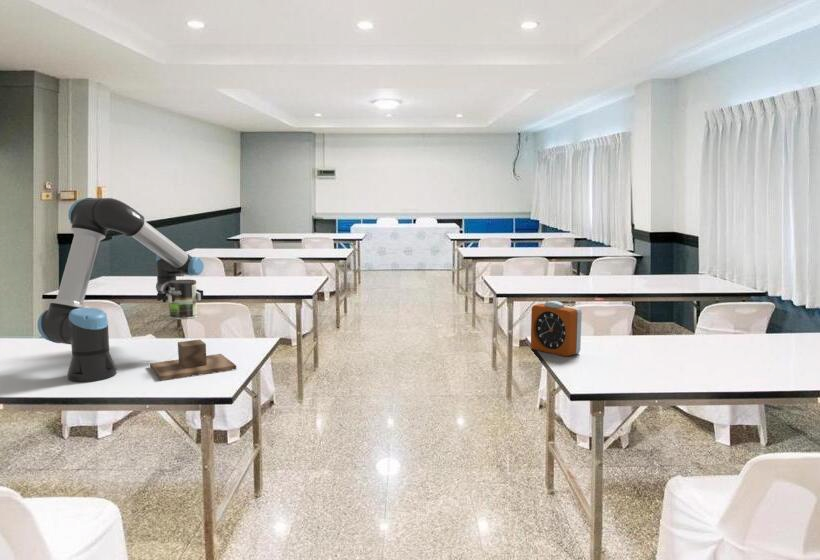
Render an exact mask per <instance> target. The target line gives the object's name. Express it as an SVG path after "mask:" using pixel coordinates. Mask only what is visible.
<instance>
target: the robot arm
mask: <svg viewBox="0 0 820 560" xmlns="http://www.w3.org/2000/svg"><path fill="white" fill-rule="evenodd" d="M68 220H69V224H71V228H70V230H71V232H72V233H73V238H72V242H71V245H70V249H69V252H68V255H67V256H68V257H67V259H66V260H67V261H66V263H65V267H64V271H63V273H62V274H63V275H62V277H61V280H60V281H61V282H60V285H59V288H58V291H57V292H58V293H57V295H56V298H55V299H53V300H52V301H50V303H49V307H48V309H46V310H45V311H44V312H42V313H41V314H40V316H39V317H38V320H37V330H38V333H39V334H40V335H41V338H43V339H45V340H47V341H49V342H52V343H55V344H63V345H71V355H72V356H71V360H70V362H69V367H68V370H67V379H68V380H69V381H71V382H78V383H79V382H80V383H84V382H86V383H87V382H94V381H95V382H96V381H102V380H106V379H109V378H111V377H114V376H115V375H117V365H116V364H115V361H114V359H113V357H112V355H111V351H110V340H109V337H110V336H109V321H108V317H107V313H106V312H105V310H103V309H99V308H96V307H86V306H85V305H84V302H85V299H86V294H87V290H88V286H89V282H90V278H91V275H92V271H93V268H94V264H95V260H96V256H97V253H98V248H99V246H100V243H101V241H103V240H104V239H106V236H107V233H108V231H114V232H118V233H120V234H123V235H124V236H125V237H127V238H131V237H132V239H134V240H136V241H137V242H139V243H140V244H141V245H143V246H144V247H146V248H147V249H148V250H149V251H151V252H152V253H154V254H155V255H156V259H155V263H156V276H157V277H156V284H155V289H156V292H157V293H156V299H157V301H158V302H159V301H161V300H162V303H168V304H169V303H172V296H171V295H169V287H168V282H169V281H172V280H177V275H182V276H183V275H184V276H191V277H192V276H200V275H201V274H202V273H203V271H204V268H205V264H204V261H203V259H202V258H201V257H197V256H192V255H190V254H189V253H187V252H186V251H184V250H183V249H182V248H181V247H179V246H178V245H177V244H176V243H174V242H173V241H171V240H170V239H169V238H168V237H166V236H165V234H163V233H161V232H160V231H158V229H156V228H155V227H154V226H152V225H151V224H149V223H148V222H147V221H146V218H145V216H144V215H142V214H141V213H140V212H138V211H137V210H136V209H134V208H133V207H132V206H130V205H128V204H126V203H125V202H123V201H121V200H120V199H119V200H118V199H117V198H111V197H105V198H103V197H102V198H101V197H100V198H99V197H97V198H96V197H86V198H85V197H84V198H80V199H78V200H76V201H75V202H73V203H72V204H71V205H70V207H69V210H68ZM203 297H204V290H201V289H197V288H196V298H197V301H201V300H202V298H203Z"/></svg>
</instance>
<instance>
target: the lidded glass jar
mask: <svg viewBox="0 0 820 560" xmlns="http://www.w3.org/2000/svg"><path fill="white" fill-rule="evenodd" d="M168 287H169V295H171V296H172V303H169V302H168V305H169V318H170V319H172V320H191V319H196V318H197V317H198V305H197V304H198V303H197V302H198V300H197V298H196V290H197V280H195V279H176V280H172V281H169V282H168Z"/></svg>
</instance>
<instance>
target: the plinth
mask: <svg viewBox="0 0 820 560" xmlns="http://www.w3.org/2000/svg"><path fill="white" fill-rule="evenodd" d="M206 347H207V344H206V343H205V341H203V340H202V339H194V340H185V341H177V352H178V353H177V354H178V359H174V360H164V361H159V362H158V361H157V362H150V363H149V368H150V369H151V371H152V372H153V373H154V374H155V376H156V377H157V378H158V379H159V381H162V380H163V381H168V380H174V379H175V378H176V379H181V378H182V377H183V378H188V377H187V376H189V377H193V376H192V375H196V376H200V375H199V374H203V375H206V374H205V373H209V374H213V373H212V372H216V373H220V372H219V371H223V372H227V371H226V370H229V371H233V370H232V369H236V370H237V365H236V364H235V363H233V362H232V361H231V360H230V359H229V358H227V357H226V356H225V355H223V354H222V353H217V354H211V355H207V348H206Z"/></svg>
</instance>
